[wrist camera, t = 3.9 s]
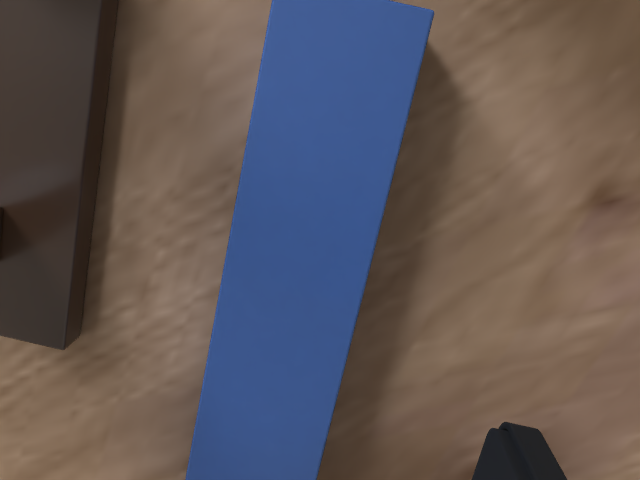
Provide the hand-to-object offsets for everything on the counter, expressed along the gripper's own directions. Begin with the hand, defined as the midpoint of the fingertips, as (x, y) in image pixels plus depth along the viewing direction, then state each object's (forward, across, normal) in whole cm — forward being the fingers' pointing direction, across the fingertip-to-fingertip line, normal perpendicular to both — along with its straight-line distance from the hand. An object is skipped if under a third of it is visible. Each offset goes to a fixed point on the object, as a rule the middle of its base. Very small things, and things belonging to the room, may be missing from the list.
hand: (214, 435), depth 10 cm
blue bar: (+7, -1, 0) cm, 7 cm away
